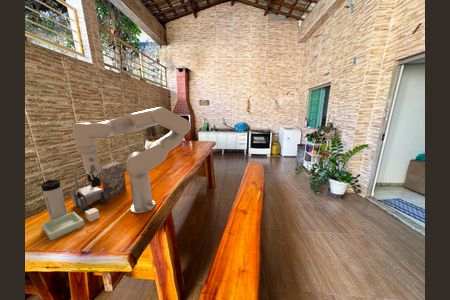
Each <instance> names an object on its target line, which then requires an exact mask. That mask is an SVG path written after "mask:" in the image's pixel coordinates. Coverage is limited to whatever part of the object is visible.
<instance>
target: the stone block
mask: <svg viewBox="0 0 450 300" xmlns="http://www.w3.org/2000/svg"><path fill="white" fill-rule="evenodd" d="M124 166H125V165H124V163H123V162H118V161H115V162H111V163H108V164H105V165H102V166H100V170H101V172H100V173H99V172H98V175H99V177H100V182H102V183H101V185H102V190H106V191H107V193H108V195H109V199H111V198H112V199H113V198H114V197H116V196H117V195H119V194H121V193H123V192H124V191H126V190H127V184H126V176H125V168H124Z"/></svg>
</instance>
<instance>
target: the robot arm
mask: <svg viewBox="0 0 450 300" xmlns="http://www.w3.org/2000/svg"><path fill="white" fill-rule="evenodd" d="M158 125H160V126H161V127H163V128H166V129H168V130H170V131H169V132H168V133H167V134H165V135H164V136H162V137H160V138H159V139H157V140H155V141H153V142H151V143H150V144H148V146H147V147H146V149H145V150H142V151H133V152H131V153H130V154H129V155H128V156H127V159H126V164H125V169H126V172H127V173H128V176H129V185H130V192H131V198H132V205H131V206H130V209H129V210H130V211H131V212H132V213H134V214H142V213H143V214H144V213H147V212H149V211H151V210H153V209H154V207H155V206H156V201H155V200H154V199H153V197H152V189H151V182H150V180H151V178H150V171H151V170H152V169H153V168H156V167H157V166H159V165H160V164H162V163H163V162H164V161H165V160H166V159H167V157H168V153H169V152H171V151H172V150H174V149H175V148H176V147H178V146H180V144H181V143H182V141H183V140H184V138H185V135H186V134H188V133H189V132H190V130H191V124H190V121H189V120H188V119H186V118H184V117H182V116H181V115H178V114H176V113H175V112H173V111H171V110H169V109H167V108H165V107H162V106H158V107H154V108H149V109H145V110H141V111H137V112H132V113H129V114H126V115H125V116H120V117H117V118H113V119H109V120H102V121H100V122H94V123H93V122H92V123H91V122H76V123H73V124H72V126H71V128H72V132H73V137H74V141H75V146H76V150H77V151H76V152H77V155H81V158H82V164H83V166H84V167H83V168H84V169H85V170H86V171H85V172H86V173H87V174H86V176H87V181H88V182H89V183H90V184H91V183H92V187H93V188H94V187H98V186H99V187H101V185H102V183H101V177H100V174H99V173H100V172H101V170H100V167H101V165H100V162H99V158H98V155H97V153H98V152H99V148H98V142H97V139H108V138H110V137H111V136H113V135H116V134H120V133H125V132H128V131H139V130H143V129H147V128H151V127H154V126H158Z"/></svg>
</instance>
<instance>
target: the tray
mask: <svg viewBox="0 0 450 300" xmlns="http://www.w3.org/2000/svg"><path fill="white" fill-rule="evenodd" d="M40 225H41V229H42V231H43V232H44V234H45V235H46V236H47V238H48V239H49V241H50V242H52V241H54V240H56V239H58V238H61V237H62V236H65V235H67V234H69V233H71V232H73V231H76V230H78V229H80V228H84V227H85V226H86V225H85V220H84V219H83V218H82V217H81V216H80V215H78V213H76V212H75V211H72V212H69V213H67V214H66V215H64V216H61V217H58V218H56V219H53V220H49V221H46V222H43V223H41V224H40Z"/></svg>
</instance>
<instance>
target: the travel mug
mask: <svg viewBox="0 0 450 300" xmlns="http://www.w3.org/2000/svg"><path fill="white" fill-rule="evenodd" d="M40 186H41V191H42V194H43V198H44V201H45V202H44V203H45V204H46V208H47V212H48V215H49V219H50V220H49V221H51V220H53V219H56V218H58V217H61V216H64V215H66V214H68V211H67V206H66V204H65V203H66V202H65V199H64V195H63V191H62V186H61V183H60V180H58V179H49V180H46V181H44V182H42V183H41V185H40Z"/></svg>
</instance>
